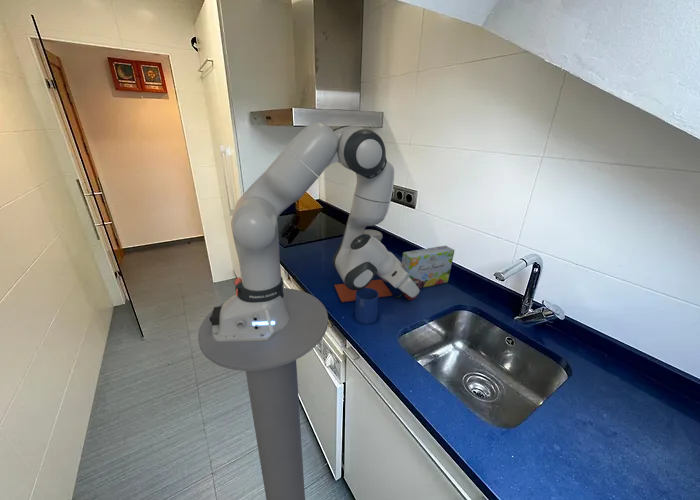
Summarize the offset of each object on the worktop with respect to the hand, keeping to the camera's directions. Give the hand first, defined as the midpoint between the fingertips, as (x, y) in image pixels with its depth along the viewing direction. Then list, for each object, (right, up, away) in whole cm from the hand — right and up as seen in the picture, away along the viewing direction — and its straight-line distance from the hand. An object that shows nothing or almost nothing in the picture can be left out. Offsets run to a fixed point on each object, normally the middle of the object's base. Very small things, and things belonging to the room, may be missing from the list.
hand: (409, 287), depth 105 cm
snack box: (+8, 0, +12) cm, 14 cm away
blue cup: (-17, -8, -9) cm, 21 cm away
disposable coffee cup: (-13, +8, +30) cm, 34 cm away
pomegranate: (-1, -4, +2) cm, 5 cm away
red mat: (-17, -2, +6) cm, 18 cm away
